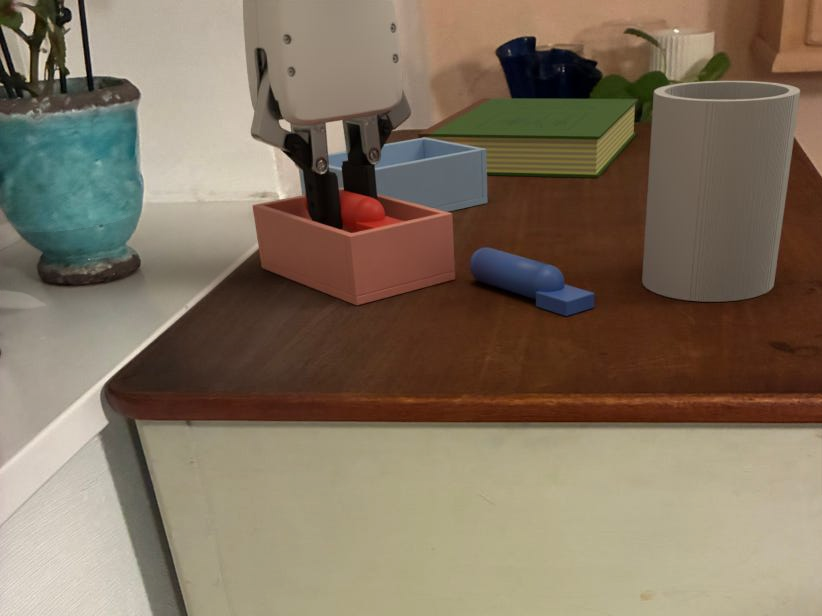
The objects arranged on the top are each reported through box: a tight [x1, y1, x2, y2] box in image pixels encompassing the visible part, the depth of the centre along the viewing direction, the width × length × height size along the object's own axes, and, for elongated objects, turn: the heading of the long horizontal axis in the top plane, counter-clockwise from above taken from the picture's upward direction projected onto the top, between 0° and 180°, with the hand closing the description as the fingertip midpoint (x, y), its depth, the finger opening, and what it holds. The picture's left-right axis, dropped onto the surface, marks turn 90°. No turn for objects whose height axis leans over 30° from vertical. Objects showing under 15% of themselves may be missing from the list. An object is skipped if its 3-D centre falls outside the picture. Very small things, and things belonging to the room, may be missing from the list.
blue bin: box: [298, 137, 488, 213], centre depth 92 cm, size 14×9×5 cm, turn 130°
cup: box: [641, 80, 801, 303], centre depth 68 cm, size 9×9×12 cm
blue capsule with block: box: [469, 247, 595, 317], centre depth 70 cm, size 11×3×2 cm, turn 40°
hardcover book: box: [417, 97, 638, 179], centre depth 111 cm, size 25×19×4 cm
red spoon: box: [304, 189, 405, 232], centre depth 73 cm, size 11×3×2 cm, turn 40°
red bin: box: [251, 187, 456, 306], centre depth 75 cm, size 13×9×5 cm, turn 40°
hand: (344, 223), depth 75 cm, fingers closed on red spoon, 2 cm apart
